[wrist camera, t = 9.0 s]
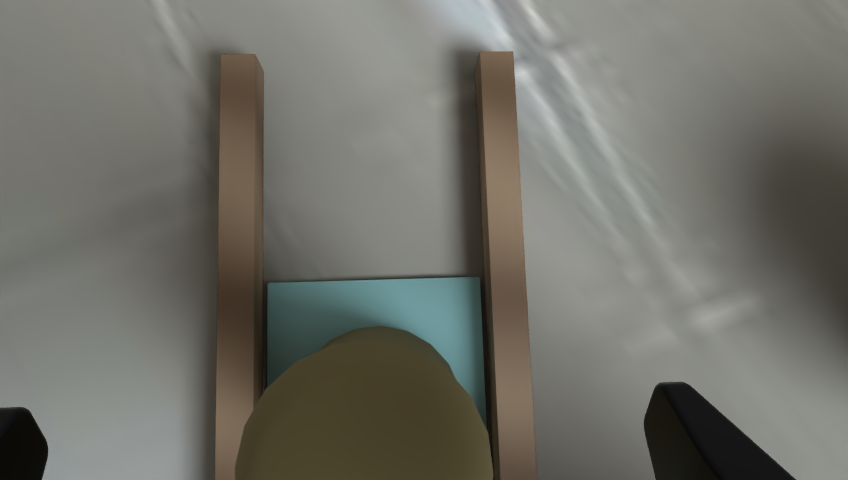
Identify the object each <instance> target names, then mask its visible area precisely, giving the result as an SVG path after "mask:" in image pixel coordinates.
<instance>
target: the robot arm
mask: <svg viewBox="0 0 848 480" xmlns="http://www.w3.org/2000/svg"><path fill="white" fill-rule="evenodd" d="M644 430H645V436H646V440H647V444H648V448H649V452H650V457H651V461H652V465H653V469H654V473H655V478H656V480H796V479H795V478H794V477H792V476H791V475H790V474H789V473H788V472H787V471H786V470H785V469H783V468H782V467H781V466H780V465H779V464H778V463H777V462H776V461H774V460H773V459H772V458H771V457H770V456H769V455H768V454H767V453H765V452H764V451H763V450H762V449H761V448H760V447H759V446H758V445H756V444H755V443H754V442H753V441H752V440H751V439H750V438H749V437H748V436H746V435H745V434H744V433H743V432H742V431H741V430H740V429H739V428H737V427H736V426H735V425H734V424H733V423H732V422H731V421H730V420H728V419H727V418H726V417H725V416H724V415H723V414H722V413H721V412H719V411H718V410H717V409H716V408H715V407H714V406H713V405H712V404H710V403H709V402H708V401H707V400H706V399H705V398H704V397H703V396H701V395H700V394H699V393H698V392H697V391H696V390H695V389H694V388H692V387H691V386H690V385H688V384H687V383H684V382H662V383H659V384H657V385H656V386H655V388H654V391H653V394H652V397H651V400H650V403H649V406H648V409H647V412H646V414H645V418H644ZM47 457H48V445H47V441H46V439H45V437H44V435H43V434H42V432H41V430H40V428H39V427H38V425H37V423H36V421H35V419H34V418H33V416H32V414H31V412H30V411H29V410H28V409H26V408H24V407H9V408H0V480H42V477H43V473H44V469H45V466H46V462H47Z"/></svg>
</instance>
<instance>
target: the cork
mask: <svg viewBox="0 0 848 480" xmlns="http://www.w3.org/2000/svg"><path fill="white" fill-rule="evenodd" d="M235 480H493V467H492V459H491V451H490V443H489V435H488V432H487V430H486V427H485V425H484V423H483V421H482V419H481V417H480V414H479V412H478V410H477V408H476V406H475V404H474V401H473V399H472V397H471V396H470V395H469V393H468V392H467V391H466V390H465V389H464V388H463V387H462V386H461V385H460V384H459V383H458V381H457V380H456V378H455V376H454V374H453V372H452V370H451V367H450V365H449V364H448V362H447V361H446V360H445V359H444V358H443V357H442V356H441V355H440V354H439V353H438V352H437V350H436V349H435V348H434V347H433V346H432V345H431V344H430V343H428V342H426V341H424V340H423V339H421V338H419V337H417V336H415V335H414V334H412V333H410V332H408V331H405V330H400V329H395V328H390V327H385V326H375V327H367V328H358V329H354V330H351V331H349V332H347V333H345V334H343V335H341V336H338V337H336V338H334V339H332V340H330V341H329V342H328V343H327V344H326V345H325V346H323V347H322V348H321V349H320V350H319V351H318V352H316V353H313V354H311V355H309V356H307V357H305V358H303V359H300V360H298V361H296V362H295V363H294V364H293V365H292V366H291V367H289V368H288V369H287V370H286V371H285V372H284V373H283V374H282V375H281V376H280V377H278V378H277V379H276V380H275V381H274V382H273V383H272V384H271V385H270V386H269V387H268V388H266V389H265V391H264V393H263V395H262V396H261V398H260V400H259V401H258V403H257V405H256V407H255V408H254V410H253V412H252V413H251V415H250V417H249V418H248V420H247V422H246V424H245V425H244V430H243V434H242V438H241V442H240V447H239V451H238V455H237V459H236V464H235Z"/></svg>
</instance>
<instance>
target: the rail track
mask: <svg viewBox="0 0 848 480" xmlns="http://www.w3.org/2000/svg"><path fill="white" fill-rule="evenodd" d="M475 83H476V104H477V126H478V147H479V169H480V190H481V212H482V233H483V255H484V276H485V298H486V319H487V341H488V362H489V384H490V405H491V427H492V448H493V470H494V480H537V470H536V452H535V434H534V416H533V398H532V381H531V363H530V345H529V327H528V309H527V291H526V273H525V255H524V237H523V219H522V201H521V183H520V165H519V148H518V130H517V112H516V94H515V76H514V58H513V51H509V52H480V54H479V57H478V60H477V64H476V67H475ZM263 120H264V71H263V69H262V67H261V65H260V63H259V61H258V59H257V57H256V55H255V54H227V55H221V72H220V145H219V219H218V293H217V367H216V441H215V480H235V464H236V459H237V455H238V451H239V447H240V442H241V438H242V434H243V430H244V425H245V424H246V422H247V420H248V418H249V417H250V415H251V413H252V412H253V410H254V408H255V407H256V405H257V403H258V401H259V400H260V398H261V396H262V395H263ZM375 326H385V327H390V328H395V329H400V330H405V331H408V332H410V333H412V334H414V335H415V336H417V337H419V338H421V339H423V340H424V341H426V342H428V343H430V344H431V345H432V346H433V347H434V348H435V349H436V350H437V352H438V353H439V354H440V355H441V356H442V357H443V358H444V359H445V360H446V361H447V362H448V364H449V365H450V367H451V370H452V372H453V374H454V376H455V378H456V380H457V381H458V383H459V384H460V385H461V386H462V387H463V388H464V389H465V390H466V391H467V392H468V393H469V395H470V396H471V397H472V399H473V401H474V404H475V406H476V408H477V410H478V412H479V414H480V417H481V419H482V421H483V423H484V425H485V427H486V430H487V423H486V401H485V379H484V357H483V335H482V313H481V291H480V277H457V278H422V279H388V280H353V281H318V282H283V283H268V285H267V388H268V387H269V386H270V385H271V384H272V383H273V382H274V381H275V380H276V379H277V378H278V377H280V376H281V375H282V374H283V373H284V372H285V371H286V370H287V369H288V368H289V367H291V366H292V365H293V364H294V363H295V362H296V361H298V360H300V359H303V358H305V357H307V356H309V355H311V354H313V353H316V352H318V351H319V350H320V349H321V348H322V347H323V346H325V345H326V344H327V343H328V342H329V341H330V340H332V339H334V338H336V337H338V336H341V335H343V334H345V333H347V332H349V331H351V330H354V329H358V328H367V327H375Z"/></svg>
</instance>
